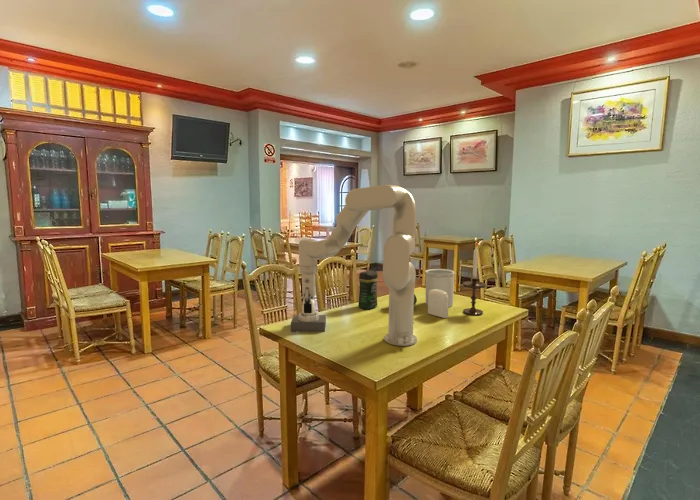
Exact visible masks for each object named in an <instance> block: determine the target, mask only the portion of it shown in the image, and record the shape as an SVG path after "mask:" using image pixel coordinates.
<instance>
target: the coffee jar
mask: <svg viewBox="0 0 700 500" xmlns="http://www.w3.org/2000/svg"><path fill="white" fill-rule="evenodd" d="M378 274H379V273H378V272H377V271H376V270H372V269H371V270H370V269H369V270H367V271H366V270H365V271H362V272H360V273H359V275H358V281H359V292H358V293H359V294H358V308H360V309H362V308H363V310H365V309H366V310H371V309H374V308H376V307H378V295H377V294H378V289H377V284H378V280H379V279H378Z"/></svg>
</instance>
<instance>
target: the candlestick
mask: <svg viewBox="0 0 700 500" xmlns="http://www.w3.org/2000/svg"><path fill="white" fill-rule="evenodd" d="M478 243H479V240H477V241H476V242H475V247H474V250H473V257H472V258H473V259H472V260H473V261H472V277H470V279H471V280H467V281H462V285H461V286H463V287H465V288H469V289H471V290H472V293H471V294H472V295H471V296H470V299H471V301H470V303H471V307H470V308H464V309H463V311H462V312H463V314H465V315H467V316H473V317H474V316H475V317H477V316H482V315H483V314H484V311H483V310H481V309H478V308H476V304H477V302H476V300H477V296H476V290H477V289H485V288H487V283H486V282H482V281H478V280H479V277H477V276H478V260H479V259H478V257H479V250H478Z"/></svg>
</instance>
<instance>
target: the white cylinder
mask: <svg viewBox="0 0 700 500" xmlns="http://www.w3.org/2000/svg"><path fill="white" fill-rule="evenodd" d="M311 303H312V313H304V299H303V300H302V312H303V316H315V312H316V311H315V310H316V307H315V305H316V300H315V299H314V298H313V299H311Z"/></svg>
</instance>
